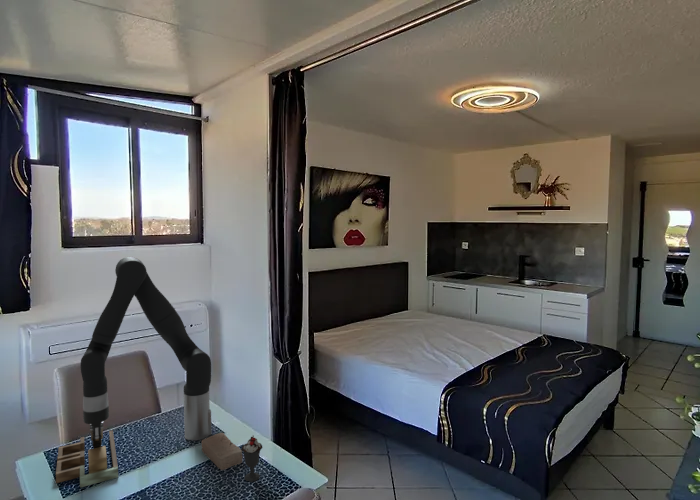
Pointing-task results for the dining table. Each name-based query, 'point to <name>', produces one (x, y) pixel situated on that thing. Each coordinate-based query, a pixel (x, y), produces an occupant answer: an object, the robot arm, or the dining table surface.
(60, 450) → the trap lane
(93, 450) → the block
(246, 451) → the sundae
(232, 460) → the brick
